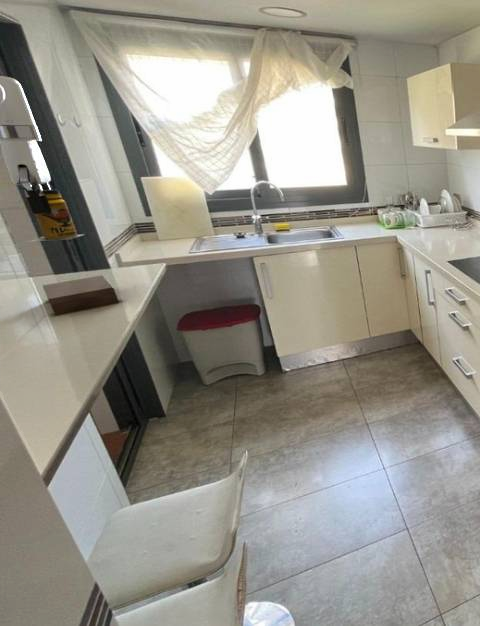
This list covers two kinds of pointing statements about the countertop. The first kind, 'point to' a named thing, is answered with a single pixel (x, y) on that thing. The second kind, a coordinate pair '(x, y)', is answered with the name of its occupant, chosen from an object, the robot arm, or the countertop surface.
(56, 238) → the condiment
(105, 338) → the countertop surface
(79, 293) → the brown wooden base
